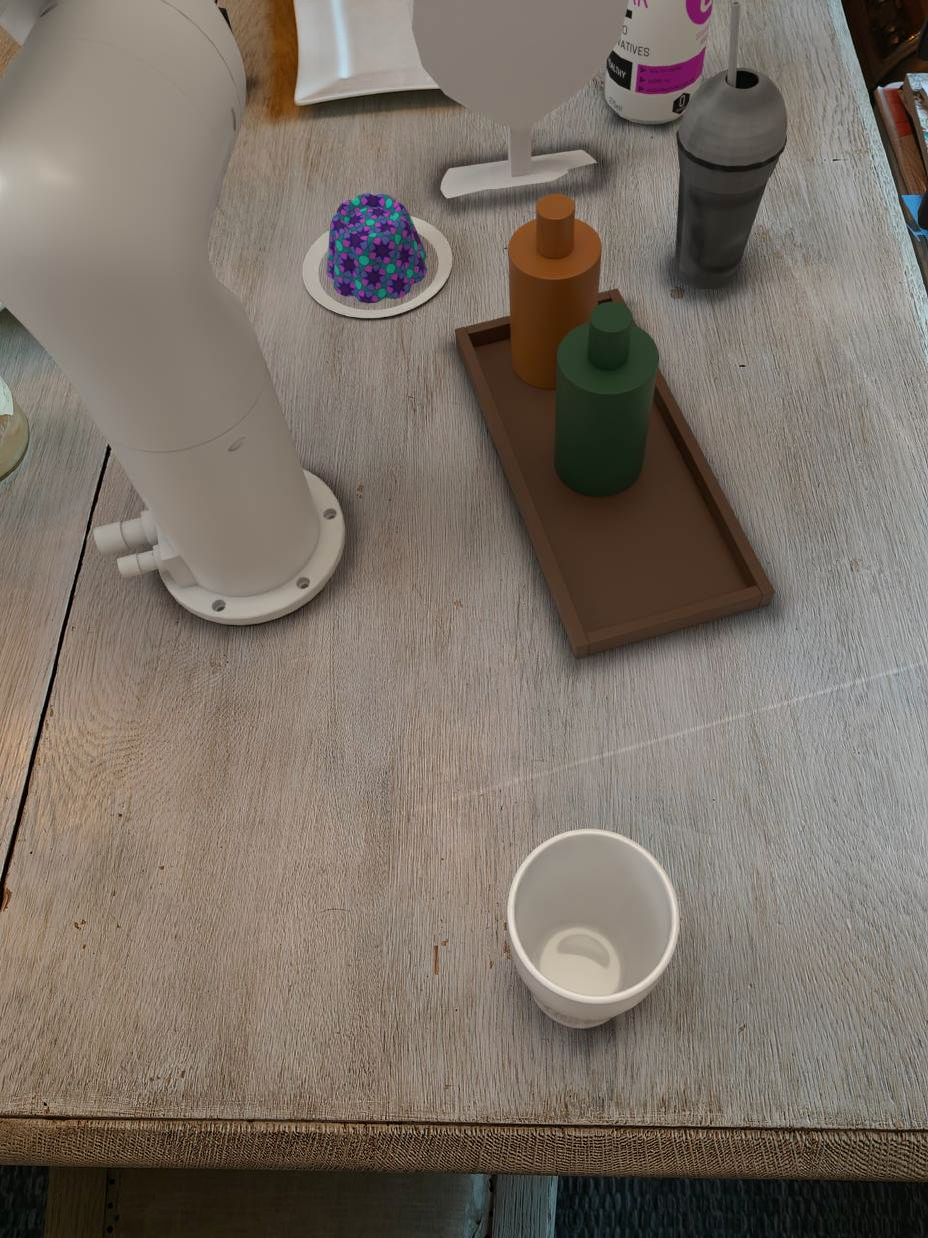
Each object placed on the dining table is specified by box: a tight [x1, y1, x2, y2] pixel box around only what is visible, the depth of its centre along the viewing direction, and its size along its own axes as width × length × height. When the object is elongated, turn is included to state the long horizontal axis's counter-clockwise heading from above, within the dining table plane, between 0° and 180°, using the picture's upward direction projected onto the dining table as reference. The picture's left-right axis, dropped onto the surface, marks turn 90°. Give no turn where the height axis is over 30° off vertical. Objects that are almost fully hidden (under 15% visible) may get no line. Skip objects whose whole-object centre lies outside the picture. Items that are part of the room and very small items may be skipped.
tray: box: [454, 288, 776, 660], centre depth 65 cm, size 13×28×2 cm, turn 16°
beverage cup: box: [674, 0, 788, 291], centre depth 65 cm, size 7×7×20 cm
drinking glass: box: [505, 828, 681, 1029], centre depth 43 cm, size 7×7×15 cm
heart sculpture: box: [406, 0, 629, 200], centre depth 73 cm, size 16×5×18 cm, turn 97°
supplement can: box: [604, 0, 714, 125], centre depth 78 cm, size 8×8×15 cm
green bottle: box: [554, 302, 660, 497], centre depth 60 cm, size 6×6×13 cm
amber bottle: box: [507, 193, 603, 389], centre depth 64 cm, size 6×6×13 cm
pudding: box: [301, 192, 453, 319], centre depth 74 cm, size 12×12×5 cm
